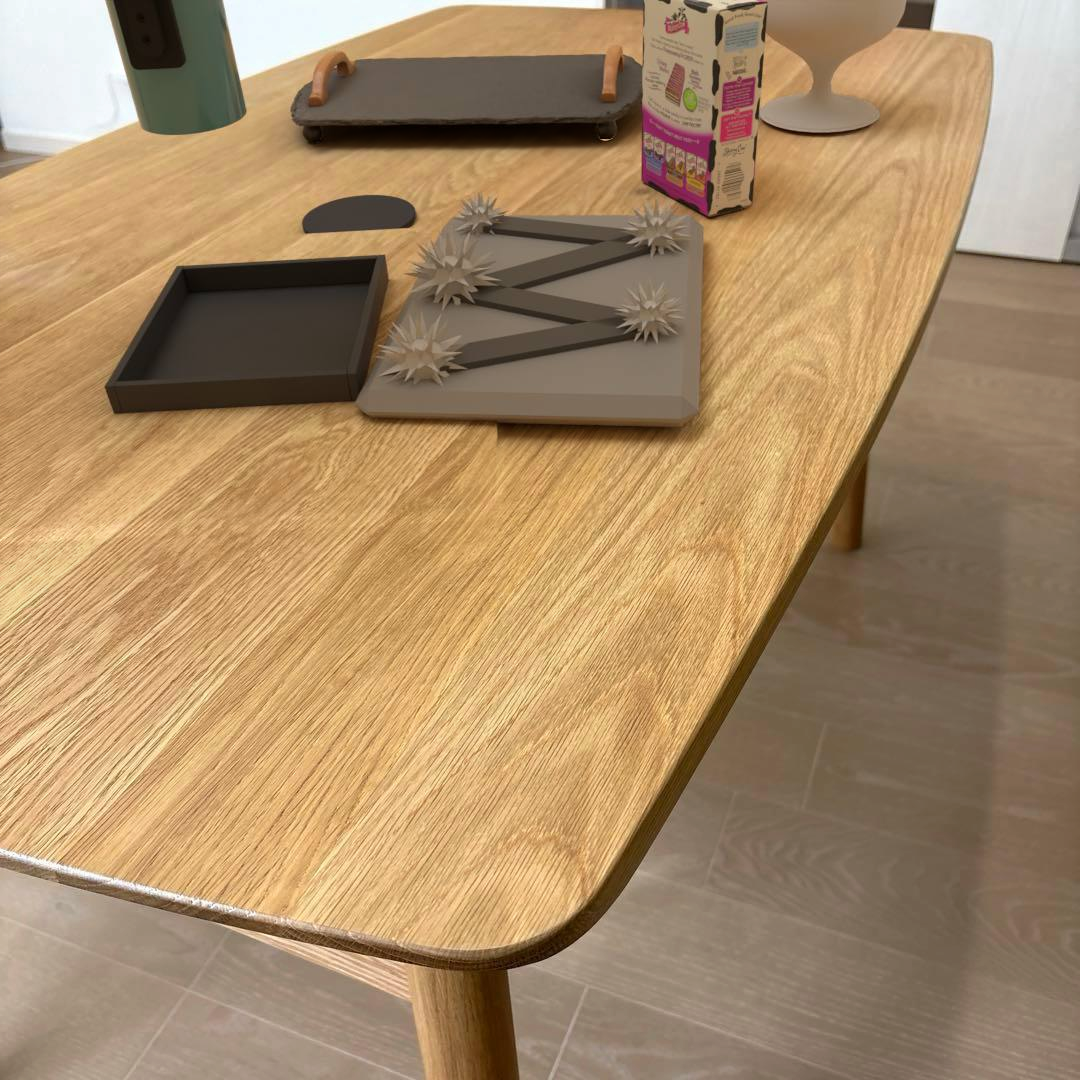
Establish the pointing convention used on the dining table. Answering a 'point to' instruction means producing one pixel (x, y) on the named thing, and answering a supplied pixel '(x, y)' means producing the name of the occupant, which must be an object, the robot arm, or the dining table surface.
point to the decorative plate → (548, 322)
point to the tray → (254, 336)
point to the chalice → (826, 58)
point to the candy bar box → (702, 100)
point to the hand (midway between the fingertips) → (176, 48)
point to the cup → (188, 75)
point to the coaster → (360, 214)
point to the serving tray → (470, 91)
